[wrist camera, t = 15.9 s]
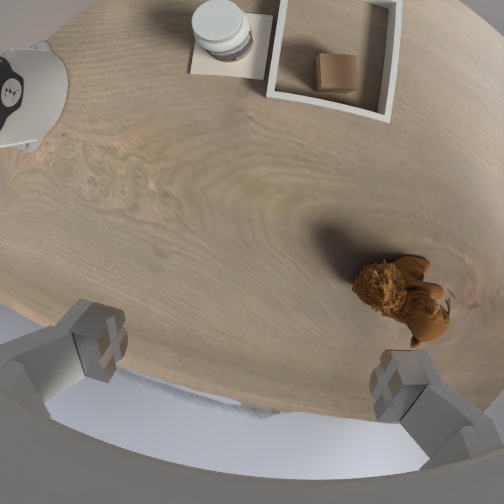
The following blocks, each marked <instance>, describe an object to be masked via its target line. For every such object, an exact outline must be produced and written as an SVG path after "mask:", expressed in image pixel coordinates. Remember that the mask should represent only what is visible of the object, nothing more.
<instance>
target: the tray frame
mask: <svg viewBox="0 0 504 504" xmlns="http://www.w3.org/2000/svg"><path fill="white" fill-rule="evenodd" d="M361 1H364V2H368V3H371V4H374V5H377V6H380V7H384V8H386V9H389V11H388V25H387V38H386V48H385V58H384V67H383V75H382V82H381V90H380V97H379V103H378V110H377V113H375V112H372V111H368V110H364V109H360V108H357V107H353V106H349V105H344V104H340V103H336V102H331V101H327V100H322V99H317V98H312V97H307V96H301V95H296V94H290V93H284V92H277V91H275V86H276V79H277V72H278V65H279V59H280V52H281V45H282V39H283V32H284V25H285V19H286V12H287V5H288V0H281V1H280V8H279V14H278V21H277V27H276V34H275V40H274V47H273V54H272V60H271V67H270V74H269V80H268V87H267V94H266V98H267V99H272V100H279V101H285V102H291V103H297V104H302V105H308V106H313V107H318V108H323V109H328V110H332V111H337V112H341V113H345V114H350V115H354V116H358V117H362V118H365V119H369V120H373V121H376V122H380V123H390V118H391V112H392V105H393V98H394V91H395V84H396V76H397V67H398V58H399V47H400V35H401V20H402V0H361Z"/></svg>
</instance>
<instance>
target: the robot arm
mask: <svg viewBox="0 0 504 504" xmlns="http://www.w3.org/2000/svg"><path fill="white" fill-rule="evenodd" d="M67 88H68V79H67V72H66V69H65V66H64V64H63V62H62V61H61V60H60V58H59V57H57V56H56V55H55V54H53V53H52V51H51V48H50V46H49V44H48V42H47V41H40V42H38V43H37V44H35V45H33V46H31V47H30V48H10V49H9V50H8V51H6V52H5V53H3V54H2V55H1V56H0V148H2V147H12V148H15V149H19V150H23V151H26V152H30V153H31V152H36V151H37V150H38V148H39V146H40V144H41V142H42V139H43V137H44V136H45V135H46V134H47V133H48V132H49V131H50V130H51V129H52V128H53V126H54V125H55V124H56V122H57V120H58V119H59V117H60V115H61V113H62V110H63V108H64V104H65V101H66V96H67ZM124 322H125V314H124V311H122V310H121V309H118V308H114V307H111V306H107V305H103V304H100V303H97V302H92V301H89V300H85V299H80V300H78V301H77V302H76V303H75V305H74V306H73V307H72V308H71V309H70V310H69V311H68V312H67V313H66V314H65V316H64V317H63V318H62V319H61V320H60V321H59V322H58V323H57V325H56V326H55V327H54V326H48V327H46V328H43V329H40V330H38V331H35V332H33V333H30V334H27V335H25V336H22V337H19V338H17V339H14V340H11V341H9V342H6V343H3V344H1V345H0V504H504V445H503V443H502V441H501V438H500V436H499V433H498V431H497V430H496V427H495V425H494V422H493V421H492V419H491V418H490V417H488V416H487V415H486V414H484V413H483V412H482V411H481V410H479V409H478V408H477V407H476V406H474V405H473V404H472V403H471V402H469V401H468V400H467V399H466V398H464V397H463V396H462V395H461V394H459V393H458V392H457V391H455V390H454V389H453V388H452V387H450V386H449V385H448V384H443V382H442V380H441V377H440V375H439V373H438V371H437V369H436V367H435V365H434V363H433V361H432V359H431V357H430V355H429V353H428V352H427V351H425V350H412V351H411V350H389V349H386V350H385V351H384V352H383V353H382V355H381V357H380V361H381V364H380V365H378V366H377V367H375V368H374V370H373V372H372V374H371V377H370V382H369V390H370V394H371V396H372V397H373V398H374V399H375V400H376V402H375V404H374V410H375V414H376V418H377V422H399V421H400V424H401V425H402V426H403V427H404V428H405V430H406V431H407V432H408V433H409V434H410V436H411V437H412V438H413V439H414V440H415V441H416V443H417V444H418V445H419V446H420V447H421V449H422V450H423V451H424V452H425V453H426V454H427V456H428V457H429V458H430V459H429V461H427V462H426V463H425V464H424V465H423V466H422V467H421V468H420V469H419V471H413V472H407V473H402V474H394V475H386V476H377V477H367V478H354V479H332V480H299V479H277V478H264V477H253V476H244V475H237V474H229V473H222V472H216V471H211V470H205V469H200V468H195V467H190V466H185V465H181V464H176V463H172V462H168V461H164V460H160V459H157V458H153V457H149V456H146V455H143V454H139V453H136V452H133V451H130V450H127V449H124V448H121V447H118V446H115V445H112V444H109V443H107V442H104V441H101V440H99V439H96V438H93V437H91V436H88V435H86V434H84V433H81V432H79V431H76V430H74V429H72V428H70V427H68V426H65V425H63V424H61V423H59V422H57V421H55V420H53V419H51V416H50V413H49V412H48V410H47V409H46V407H45V405H44V403H45V402H47V401H48V400H50V399H52V398H53V397H55V396H56V395H58V394H60V393H61V392H63V391H64V390H66V389H67V388H69V387H71V386H72V385H74V384H75V383H77V382H79V381H80V380H82V379H83V378H85V376H87V377H90V378H93V379H96V380H99V381H103V382H106V383H109V381H110V379H111V378H112V376H113V374H114V372H115V370H116V364H115V362H117V361H119V360H121V359H122V358H123V356H124V354H125V352H126V348H127V344H128V335H127V331H126V330H125V328H124V327H123V326H122V325H123V324H124Z"/></svg>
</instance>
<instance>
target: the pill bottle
mask: <svg viewBox="0 0 504 504" xmlns="http://www.w3.org/2000/svg"><path fill="white" fill-rule="evenodd" d="M192 28H193V32H194V37H195V39H196V41H197V43H198V44H199V45H200V46H201V47H202V48H203V49H204V50H205V51H206V52H208V53H209V54H210V55H211V56H212V57H213V58H215V59H216V60H218V61H221V62H226V63H232V62H236V61H239V60H242V59H243V58H245V57H246V56H247V55H248V54H249V53H250V51H251V50H252V47H253V44H254V38H253V32H252V29H251V25H250V21H249V18H248V16H247V15H246V14H245V13H244V12H243V11H242V10H241V9H239V8H238V6H237V5H236V4H234V3H233V2H231V1H229V0H210V1H207V2H205V3H203V4H202V5H200V6H199V7H198V8H197V9H196V11H195V12H194V14H193V17H192Z"/></svg>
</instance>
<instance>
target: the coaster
mask: <svg viewBox="0 0 504 504" xmlns="http://www.w3.org/2000/svg"><path fill="white" fill-rule="evenodd" d="M245 14H246V15H247V16H248V18H249V21H250V25H251V29H252V32H253V38H254V44H253V47H252V50H251V51H250V53H249V54H248V55H247V56H246V57H245V58H243V59H242V60H239V61H236V62H232V63H226V62H221V61H218V60H216V59H215V58H213V57H212V56H211V55H210V54H209V53H208V52H206V51H205V50H204V49H203V48H202V47H201V46H200V45H199V44H198V43H197V41H195V46H194V52H193V59H192V65H191V72H190V74H191V75H209V76H224V77H236V78H246V79H255V80H263V81H264V75H265V68H266V61H267V55H268V48H269V42H270V35H271V29H272V22H273V16H271V15H262V14H251V13H245Z"/></svg>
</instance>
